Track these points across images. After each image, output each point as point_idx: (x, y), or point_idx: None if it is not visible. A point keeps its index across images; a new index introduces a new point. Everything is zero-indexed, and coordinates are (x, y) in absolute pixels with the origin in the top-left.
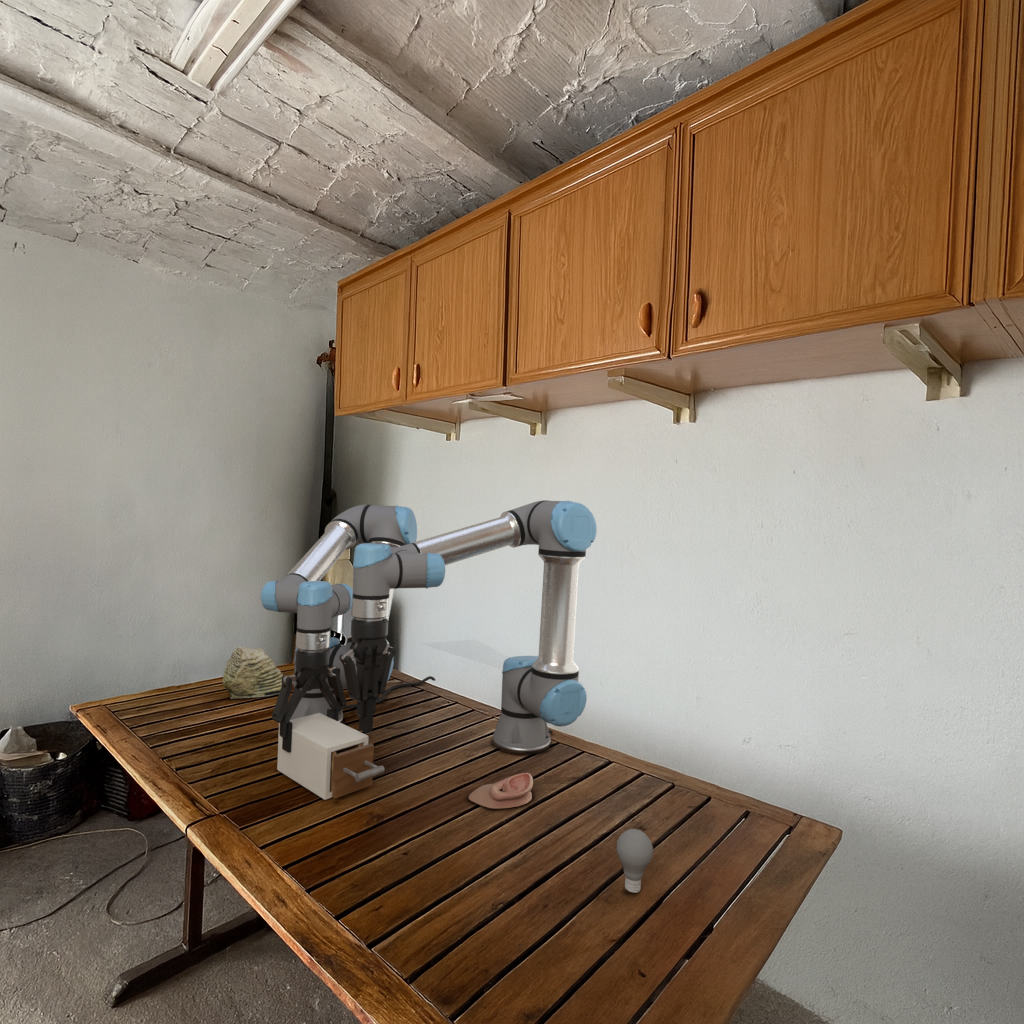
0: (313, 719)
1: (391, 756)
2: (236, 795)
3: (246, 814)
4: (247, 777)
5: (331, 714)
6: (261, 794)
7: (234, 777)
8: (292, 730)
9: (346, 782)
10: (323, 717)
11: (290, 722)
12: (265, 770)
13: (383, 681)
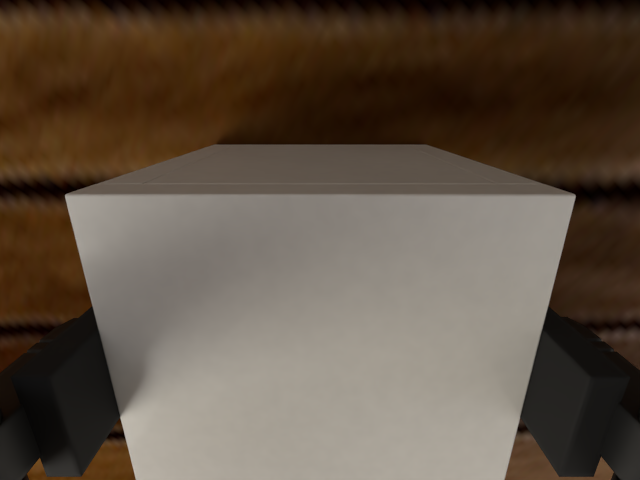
0: (394, 326)
1: (631, 338)
2: (4, 251)
3: None
4: (76, 126)
5: (549, 423)
6: (88, 301)
7: (23, 83)
8: (121, 420)
9: None
10: (496, 339)
11: (66, 459)
12: (169, 110)
13: None
